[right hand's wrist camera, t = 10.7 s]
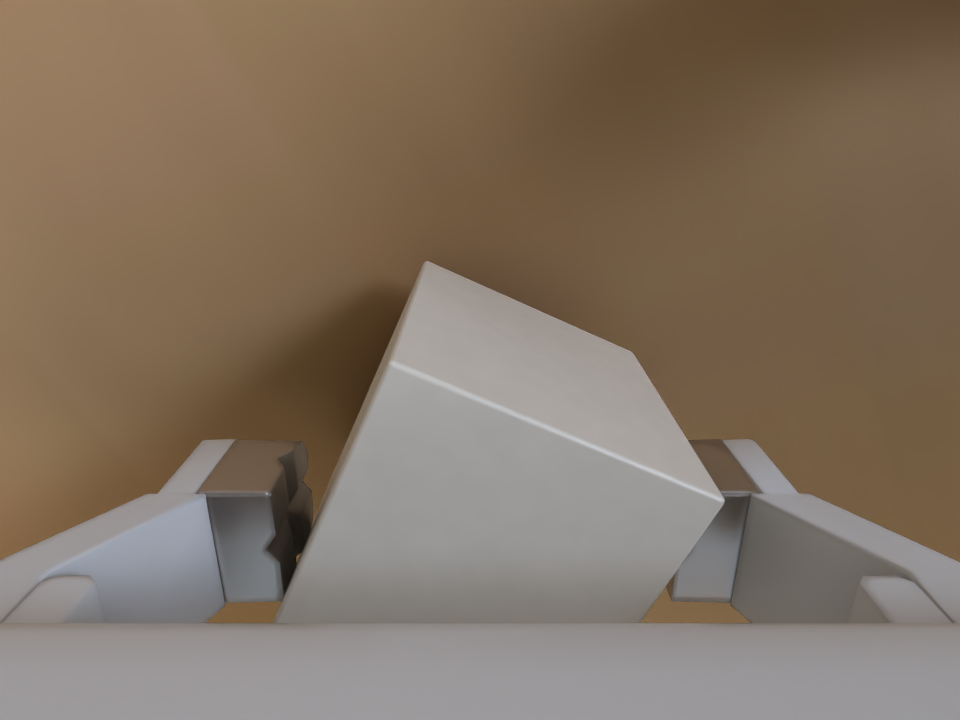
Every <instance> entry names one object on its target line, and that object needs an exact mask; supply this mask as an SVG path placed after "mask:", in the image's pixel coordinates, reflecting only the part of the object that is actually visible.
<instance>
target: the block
mask: <svg viewBox="0 0 960 720" xmlns="http://www.w3.org/2000/svg"><path fill="white" fill-rule="evenodd" d="M724 501H725V500H724V497H723V496H722V494H721V493H720V491H719V489H718V488H717V486H716V485H715V483H714V481H713V480H712V478H711V477H710V475H709V473H708V472H707V470H706V469H705V467H704V466H703V464H702V462H701V461H700V459H699V458H698V456H697V454H696V453H695V451H694V450H693V448H692V446H691V445H690V443H689V442H688V440H687V438H686V437H685V435H684V434H683V432H682V430H681V429H680V427H679V426H678V424H677V422H676V421H675V419H674V418H673V416H672V414H671V413H670V411H669V410H668V408H667V406H666V405H665V403H664V402H663V400H662V399H661V397H660V395H659V394H658V392H657V391H656V389H655V387H654V386H653V384H652V383H651V381H650V379H649V378H648V376H647V375H646V373H645V371H644V370H643V368H642V367H641V365H640V363H639V362H638V360H637V359H636V357H635V355H634V354H633V353H632V352H631V351H629V350H626V349H624V348H622V347H620V346H617V345H615V344H613V343H611V342H608V341H606V340H604V339H602V338H599V337H597V336H595V335H593V334H591V333H588V332H586V331H584V330H582V329H579V328H577V327H575V326H573V325H570V324H568V323H566V322H564V321H561V320H559V319H557V318H555V317H552V316H550V315H548V314H546V313H543V312H541V311H539V310H537V309H534V308H532V307H530V306H528V305H525V304H523V303H521V302H519V301H516V300H514V299H512V298H510V297H507V296H505V295H503V294H501V293H498V292H496V291H494V290H492V289H489V288H487V287H485V286H483V285H480V284H478V283H476V282H474V281H472V280H469V279H467V278H465V277H463V276H460V275H458V274H456V273H454V272H451V271H449V270H447V269H445V268H442V267H440V266H438V265H436V264H433V263H431V262H429V261H425V262H424V263H423V265H422V268H421V270H420V272H419V275H418V277H417V279H416V282H415V284H414V286H413V289H412V291H411V293H410V295H409V298H408V300H407V302H406V305H405V307H404V309H403V312H402V314H401V316H400V319H399V321H398V323H397V326H396V328H395V330H394V333H393V335H392V337H391V340H390V342H389V344H388V347H387V349H386V351H385V354H384V356H383V358H382V360H381V363H380V365H379V367H378V370H377V372H376V374H375V377H374V379H373V381H372V384H371V386H370V388H369V391H368V393H367V395H366V398H365V400H364V402H363V405H362V407H361V409H360V412H359V414H358V416H357V419H356V421H355V423H354V426H353V428H352V430H351V432H350V435H349V437H348V439H347V442H346V444H345V446H344V449H343V451H342V453H341V456H340V458H339V460H338V463H337V465H336V467H335V470H334V472H333V474H332V477H331V479H330V482H329V484H328V487H327V489H326V492H325V494H324V497H323V499H322V501H321V504H320V506H319V509H318V511H317V514H316V516H315V519H314V521H313V524H312V527H311V531H310V533H309V536H308V538H307V541H306V543H305V546H304V548H303V550H302V552H301V553H300V556H299V558H298V561H297V565H296V568H295V570H294V573H293V575H292V578H291V580H290V583H289V585H288V588H287V590H286V593H285V595H284V598H283V600H282V601H281V603H280V605H279V608H278V610H277V613H276V615H275V618H274V620H273V623H640V622H641V621H642V619H643V618H644V617H645V615H646V614H647V612H648V611H649V609H650V608H651V607H652V605H653V604H654V602H655V601H656V600H657V598H658V597H659V595H660V594H661V592H662V591H663V590H664V588H665V587H666V585H667V584H668V582H669V581H670V580H671V578H672V577H673V575H674V574H675V573H676V571H677V570H678V568H679V567H680V565H681V564H682V563H683V561H684V560H685V558H686V557H687V556H688V554H689V553H690V551H691V550H692V548H693V547H694V546H695V544H696V543H697V541H698V540H699V539H700V537H701V536H702V534H703V533H704V531H705V530H706V529H707V527H708V526H709V524H710V523H711V521H712V520H713V519H714V517H715V516H716V514H717V513H718V512H719V510H720V509H721V507H722V506H723V504H724Z"/></svg>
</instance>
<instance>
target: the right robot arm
mask: <svg viewBox="0 0 960 720" xmlns="http://www.w3.org/2000/svg"><path fill="white" fill-rule="evenodd" d="M688 442H689V443H690V445H691V446H692V448H693V450H694V451H695V453H696V454H697V456H698V458H699V459H700V461H701V462H702V464H703V466H704V467H705V469H706V470H707V472H708V473H709V475H710V477H711V478H712V480H713V481H714V483H715V485H716V486H717V488H718V489H719V491H720V493H721V494H722V496H723V497H724V500H725V501H724V504H723V506H722V507H721V509H720V510H719V512H718V513H717V514H716V516H715V517H714V519H713V520H712V521H711V523H710V524H709V526H708V527H707V529H706V530H705V531H704V533H703V534H702V536H701V537H700V539H699V540H698V541H697V543H696V544H695V546H694V547H693V548H692V550H691V551H690V553H689V554H688V556H687V557H686V558H685V560H684V561H683V563H682V564H681V565H680V567H679V568H678V570H677V571H676V573H675V574H674V575H673V577H672V578H671V580H670V581H669V582H668V584H667V585H666V588H667V590H668V593H669V595H670V598H671V600H672V601H687V602H724V603H731V606H732V607H733V608H735V609H736V610H737V611H738V612H739V613H740V614H742V615H743V616H744V617H745V618H746V619H748V620H749V621H750V622H751V623H205V622H207V621H208V620H209V619H210V618H211V617H212V616H214V615H215V614H216V613H217V612H218V611H220V610H221V609H222V608H223V607H224V606H225V603H232V602H268V601H282V600H283V598H284V595H285V593H286V590H287V588H288V585H289V583H290V580H291V578H292V575H293V573H294V570H295V568H296V565H297V563H296V556H297V555H299V554H300V553H301V552H302V550H303V548H304V546H305V543H306V541H307V538H308V536H309V533H310V531H311V527H312V521H313V502H312V492H311V490H310V489H309V488H308V486H307V485H306V484H305V483H304V482H303V481H302V479H303V477H304V475H305V473H306V471H307V469H308V466H309V465H308V459H307V452H306V447H305V445H304V443H303V442H302V441H288V440H237V439H215V440H203V441H202V442H201V443H200V444H199V445H198V446H197V447H196V448H195V450H194V451H193V452H192V453H191V454H190V456H189V457H188V458H187V459H186V460H185V461H184V463H183V464H182V465H181V466H180V467H179V468H178V470H177V471H176V472H175V473H174V474H173V476H172V477H171V478H170V479H169V480H168V481H167V483H166V484H165V485H164V486H163V487H162V489H161V490H160V491H159V492H158V493H157V494H145V495H143V496H141V497H138V498H136V499H134V500H132V501H129V502H127V503H125V504H123V505H121V506H118V507H116V508H114V509H112V510H110V511H107V512H105V513H103V514H101V515H98V516H96V517H94V518H92V519H90V520H87V521H85V522H83V523H81V524H79V525H76V526H74V527H72V528H70V529H67V530H65V531H63V532H61V533H59V534H56V535H54V536H52V537H50V538H48V539H45V540H43V541H41V542H39V543H36V544H34V545H32V546H30V547H28V548H25V549H23V550H21V551H19V552H17V553H14V554H12V555H10V556H8V557H5V558H3V559H1V560H0V720H960V562H958V561H956V560H954V559H951V558H949V557H947V556H945V555H943V554H940V553H938V552H936V551H934V550H932V549H930V548H927V547H925V546H923V545H921V544H919V543H916V542H914V541H912V540H910V539H908V538H905V537H903V536H901V535H899V534H897V533H894V532H892V531H890V530H888V529H886V528H883V527H881V526H879V525H877V524H875V523H872V522H870V521H868V520H866V519H864V518H861V517H859V516H857V515H855V514H853V513H851V512H848V511H846V510H844V509H842V508H840V507H837V506H835V505H833V504H831V503H829V502H826V501H824V500H822V499H820V498H818V497H815V496H813V495H811V494H799V493H798V492H797V491H796V490H795V489H794V487H793V486H792V485H791V484H790V483H789V481H788V480H787V479H786V478H785V477H784V475H783V474H782V473H781V472H780V471H779V469H778V468H777V467H776V466H775V465H774V464H773V462H772V461H771V460H770V459H769V458H768V456H767V455H766V454H765V453H764V452H763V450H762V449H761V448H760V447H759V446H758V444H757V443H756V442H755V441H753V440H750V439H732V440H720V439H717V440H688Z"/></svg>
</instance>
